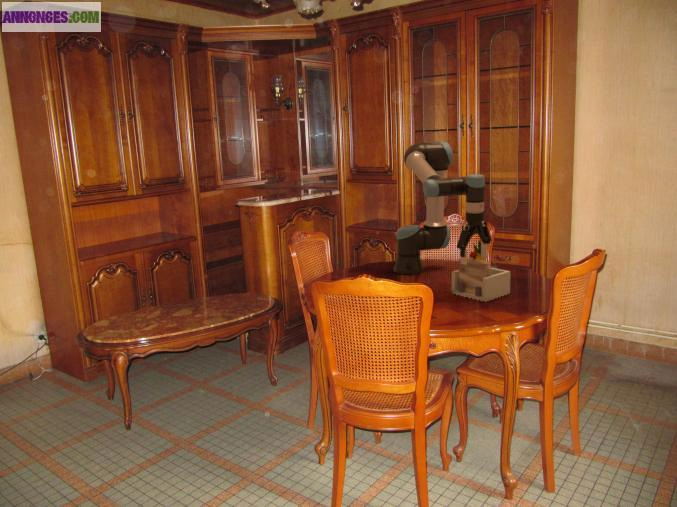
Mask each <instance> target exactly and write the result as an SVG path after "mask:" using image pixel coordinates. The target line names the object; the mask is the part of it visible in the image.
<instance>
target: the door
mask: <svg viewBox="0 0 677 507" xmlns="http://www.w3.org/2000/svg"><path fill="white" fill-rule="evenodd" d="M491 263H492V262H490V261H486V262H484V261H479V260H473V259H472V258H471V259H470V258H468V257H467V265H464V264H461V258H459V259H458V270H459V283H464V292H468V293H472V294H475V287H477V286H478V287H481V296H483V278H485V277H489V276H490V275H491V267H492V266H491V265H492V264H491Z"/></svg>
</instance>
